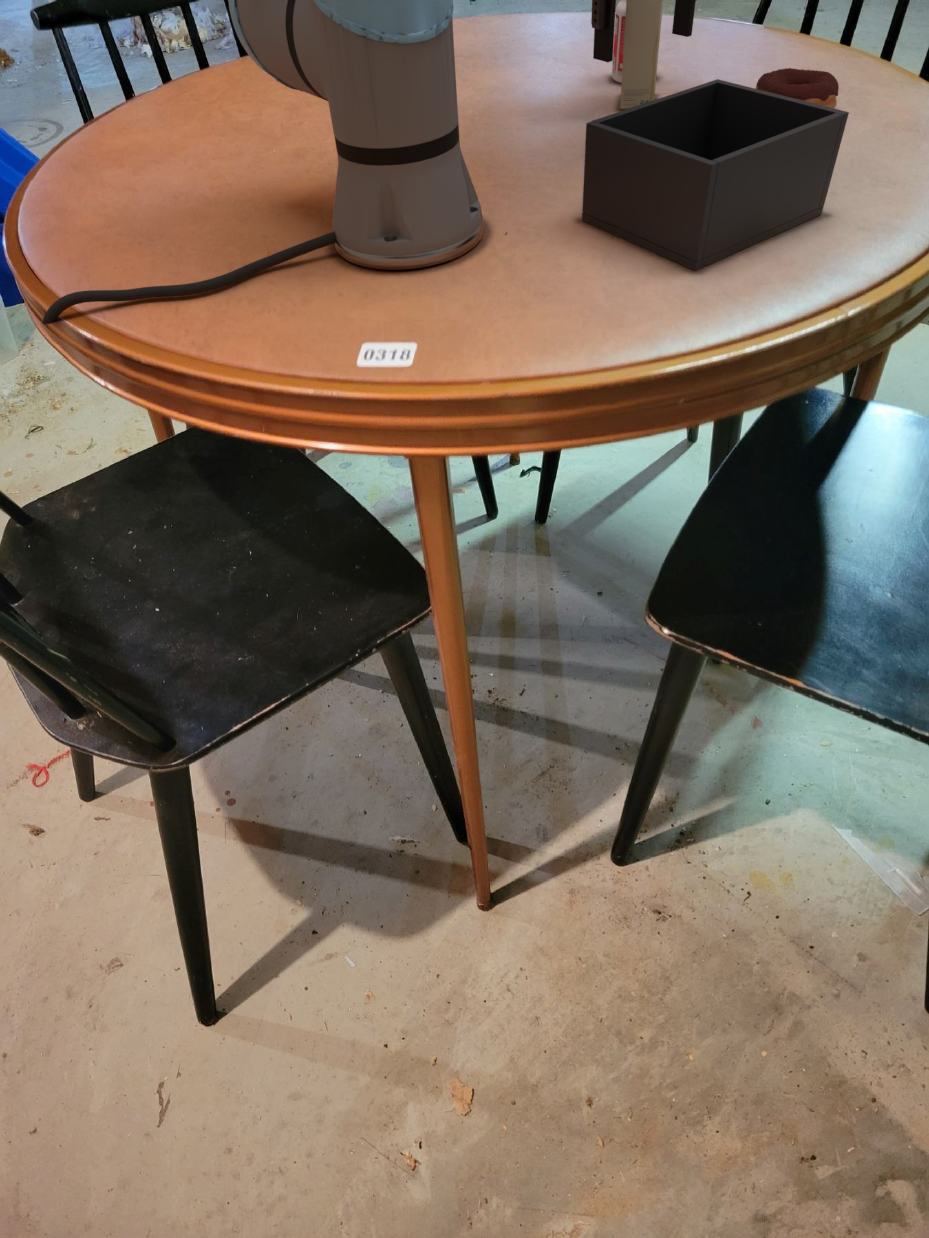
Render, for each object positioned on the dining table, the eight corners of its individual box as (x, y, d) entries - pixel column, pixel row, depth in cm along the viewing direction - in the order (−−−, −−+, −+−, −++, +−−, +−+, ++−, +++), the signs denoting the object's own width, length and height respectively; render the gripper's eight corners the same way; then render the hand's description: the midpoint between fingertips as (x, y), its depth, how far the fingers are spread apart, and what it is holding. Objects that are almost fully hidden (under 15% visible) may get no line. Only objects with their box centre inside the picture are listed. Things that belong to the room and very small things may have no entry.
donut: (852, 110, 95) (862, 72, 92) (799, 131, 91) (808, 91, 88) (785, 94, 101) (792, 57, 98) (733, 112, 97) (739, 75, 94)
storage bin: (694, 271, 70) (711, 165, 64) (581, 220, 79) (585, 122, 72) (821, 214, 76) (849, 112, 69) (703, 173, 85) (717, 79, 78)
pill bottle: (664, 79, 108) (675, -22, 100) (627, 88, 106) (635, -14, 98) (638, 69, 112) (647, -29, 103) (603, 78, 110) (608, -21, 102)
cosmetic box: (652, 110, 100) (664, -9, 91) (618, 110, 101) (626, -8, 91) (654, 95, 104) (666, -21, 95) (621, 95, 105) (629, -19, 95)
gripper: (718, -209, 88) (691, 20, 104) (549, -179, 80) (548, 65, 96) (771, -211, 84) (734, 29, 100) (597, -179, 75) (588, 77, 92)
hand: (643, 47), depth 98 cm, fingers open, 13 cm apart
